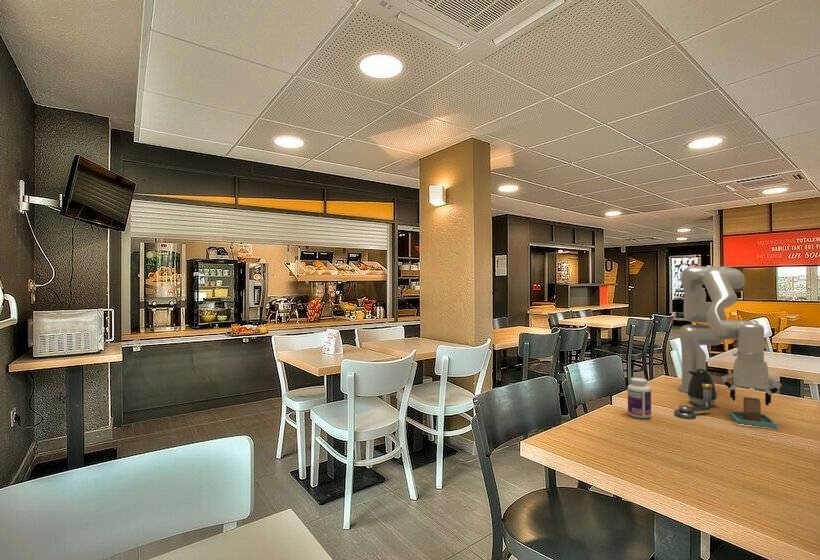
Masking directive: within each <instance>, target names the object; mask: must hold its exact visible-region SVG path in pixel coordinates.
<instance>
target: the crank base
mask: <svg viewBox="0 0 820 560" xmlns="http://www.w3.org/2000/svg"><path fill="white" fill-rule="evenodd" d="M696 413H697V412H691V413H683V412H680V411H679V408H677V409H674V410H673V415H674V416H675V417H677V418H680V419H684V420H686V419H687V420H694V419H696V417H697V415H696Z"/></svg>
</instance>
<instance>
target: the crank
mask: <svg viewBox="0 0 820 560" xmlns="http://www.w3.org/2000/svg"><path fill="white" fill-rule="evenodd" d="M702 387H703V405H701V406H699V405H694V406H693V405H692V406H689V405H683V404H682V405H680V404H679V405H678V409H679V411H680V412H683V413H691V412H694V413H697V412H703V411H706V412H707V411H711V407H712V405H711V388H712V384H708V383H702Z"/></svg>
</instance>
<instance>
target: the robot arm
mask: <svg viewBox="0 0 820 560" xmlns="http://www.w3.org/2000/svg"><path fill="white" fill-rule="evenodd" d="M680 280H681V285H682V289H683V318H684V320H686V321H687V322H690V323H691V322H692V323H707V324H686V325H685V324H684V325H682V326H681V327H680V329H679V331H678V335H679V340H680V346H681V347H680V349H681V385H678V386H677V389H678V391H681V392H683V393H687V392H688V385H689V382H690V379H691V377H692V374H690V373H689V371H692V372H695V371H696V370H697V369H704V370H706V371H707V354H706V352H705V351H704V350H703V348H702V347H701V346H719V345H721V344H722V343H723V342H724V340H726V341H727V340H728V341H729V340H732V341H733V340H735V341H737V351H733V352H732V356H733V357H737V358H735V360H734V364H733V370H732V371H733V372H732V373H729V374H726V375H723V376H721V377H720V380H721V381H722V382H723V383H724V385H725V386H726V387H727V388H728V389H729V398H731V399H732V401H733V402H735V401H736V388H738V387H740V388H746V389H755V390H764V391H765V393H764V394H765V395H764V396H765V397H764V403H765V405H766V407H767V406H769V405H770V404H772V395H773V394H775V393H776V392H778V391H779V389H780V388H781V387H782V384H781V382H779V381H778V380H775V379H773V378H771V377H769V368H768V362H767V361H765V327H764V326H763V325H762V324H759V323H754V322H752V321H751V320H750V321H749V320H736V319H733V320H728V319H726V312H725V309H727V308H729V307H731V306H733V305H735V304H736V303H737V301H738V296H737V294H736V292H735V290H736V289H737V290H738V289H741V288H742V287H744V285H745V283H746V277H745V275H744V273H743V272H742V271H741V270H740V269H738V268H733V267H728V266H716V265H715V266H689V267H686V268H684V269H683V270H682V272H681V275H680ZM703 286H705V289H706V291H707V293H708V296H709V297H710V300H711V301H707V293H706V291H705V289H704V287H703ZM734 289H735V290H734ZM728 379H732V383H730V382H728ZM769 383H771V384H772V385H774V386H773V387H772V388H769V387H770V386H769V385H770V384H769Z"/></svg>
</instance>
